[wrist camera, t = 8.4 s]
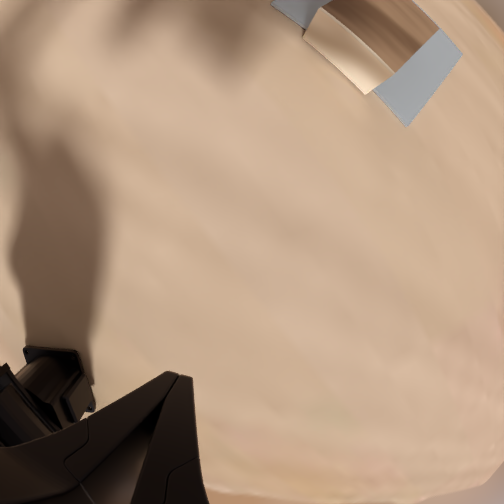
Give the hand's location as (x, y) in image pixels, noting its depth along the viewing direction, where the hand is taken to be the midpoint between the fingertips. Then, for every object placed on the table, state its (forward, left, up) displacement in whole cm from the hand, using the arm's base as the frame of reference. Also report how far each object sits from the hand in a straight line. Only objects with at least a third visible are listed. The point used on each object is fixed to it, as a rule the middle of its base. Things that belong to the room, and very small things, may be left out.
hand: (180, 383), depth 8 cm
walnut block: (+11, +17, -10) cm, 23 cm away
